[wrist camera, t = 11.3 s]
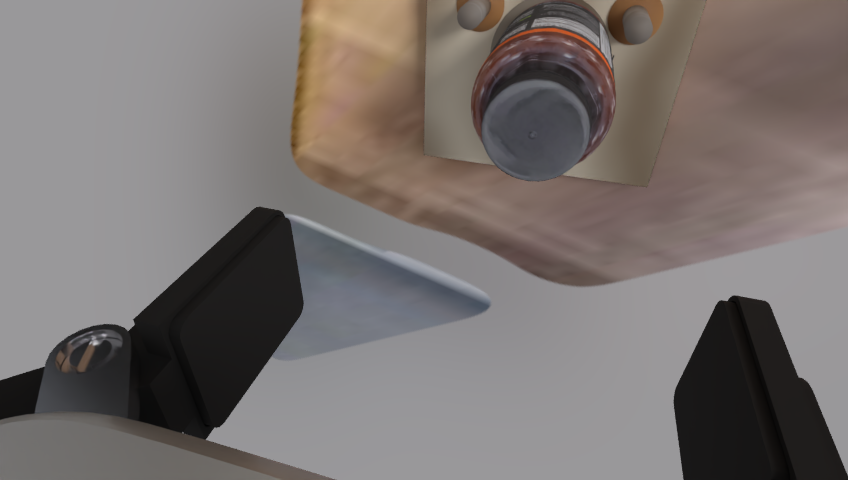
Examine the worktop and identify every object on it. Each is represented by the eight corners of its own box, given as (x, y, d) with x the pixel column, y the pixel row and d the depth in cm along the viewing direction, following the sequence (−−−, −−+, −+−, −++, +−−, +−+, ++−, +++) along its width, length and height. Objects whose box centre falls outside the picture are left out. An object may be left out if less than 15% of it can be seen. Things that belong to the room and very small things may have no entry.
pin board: (730, -93, 23) (752, -90, 20) (645, 178, 31) (650, 212, 28) (435, -102, 26) (410, -100, 23) (428, 147, 34) (410, 175, 31)
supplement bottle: (566, 128, 29) (553, 232, 20) (479, 75, 29) (427, 157, 20) (636, 34, 26) (656, 111, 17) (537, -27, 25) (505, 18, 16)
